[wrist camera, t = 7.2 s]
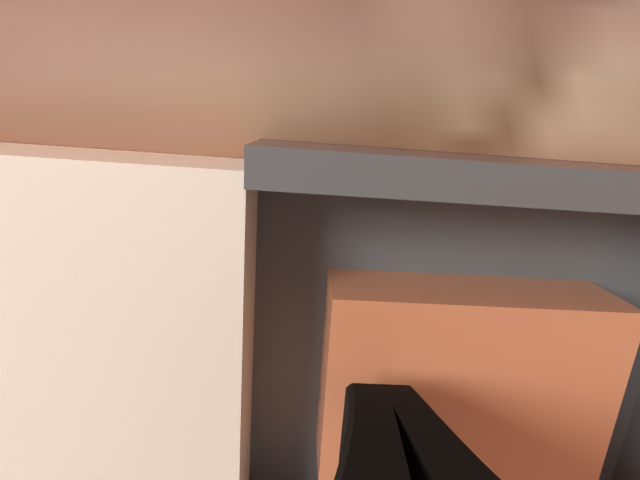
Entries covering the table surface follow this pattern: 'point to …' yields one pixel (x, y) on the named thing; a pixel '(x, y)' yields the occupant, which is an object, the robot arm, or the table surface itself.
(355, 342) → the tile
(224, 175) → the board
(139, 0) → the table surface
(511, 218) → the tray
